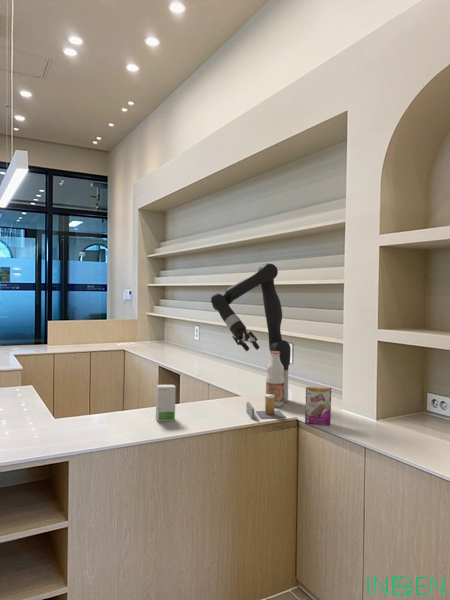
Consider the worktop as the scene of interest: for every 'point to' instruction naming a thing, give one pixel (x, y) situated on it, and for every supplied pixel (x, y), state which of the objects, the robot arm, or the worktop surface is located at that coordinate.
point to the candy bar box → (318, 405)
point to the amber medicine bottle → (269, 404)
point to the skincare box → (165, 403)
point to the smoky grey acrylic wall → (250, 410)
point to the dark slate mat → (276, 415)
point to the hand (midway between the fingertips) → (253, 349)
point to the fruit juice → (275, 379)
